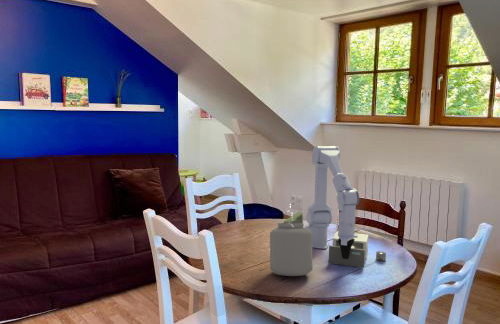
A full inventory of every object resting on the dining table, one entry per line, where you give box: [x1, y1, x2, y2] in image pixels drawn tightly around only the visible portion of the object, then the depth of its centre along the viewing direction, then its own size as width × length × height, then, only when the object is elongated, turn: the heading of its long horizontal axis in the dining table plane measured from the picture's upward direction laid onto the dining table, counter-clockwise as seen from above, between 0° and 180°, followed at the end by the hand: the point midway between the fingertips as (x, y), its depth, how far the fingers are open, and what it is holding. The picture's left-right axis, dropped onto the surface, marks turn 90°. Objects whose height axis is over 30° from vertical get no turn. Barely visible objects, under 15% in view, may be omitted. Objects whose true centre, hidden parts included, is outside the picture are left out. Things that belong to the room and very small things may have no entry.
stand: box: [375, 250, 387, 263], centre depth 161 cm, size 4×4×3 cm
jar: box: [269, 203, 313, 277], centre depth 146 cm, size 19×15×25 cm
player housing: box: [332, 230, 369, 261], centre depth 167 cm, size 13×10×7 cm
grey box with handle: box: [328, 245, 365, 268], centre depth 158 cm, size 13×10×7 cm
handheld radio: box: [283, 211, 304, 224], centre depth 200 cm, size 7×3×25 cm
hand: (345, 258), depth 152 cm, fingers closed
